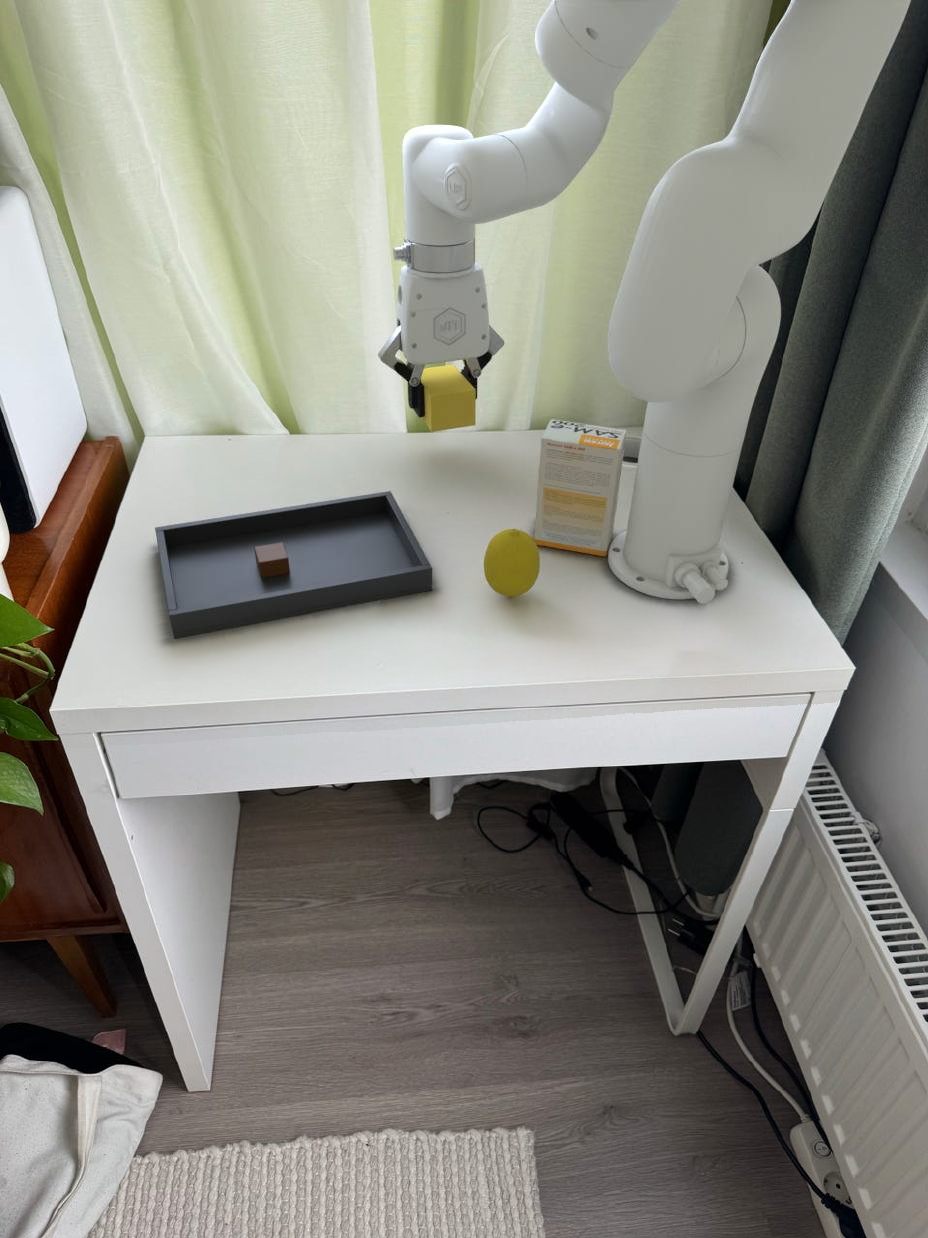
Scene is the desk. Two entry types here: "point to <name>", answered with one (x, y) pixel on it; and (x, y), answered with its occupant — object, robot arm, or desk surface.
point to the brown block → (272, 560)
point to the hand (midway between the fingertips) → (443, 407)
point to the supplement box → (578, 486)
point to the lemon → (511, 562)
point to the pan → (318, 559)
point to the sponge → (447, 398)
